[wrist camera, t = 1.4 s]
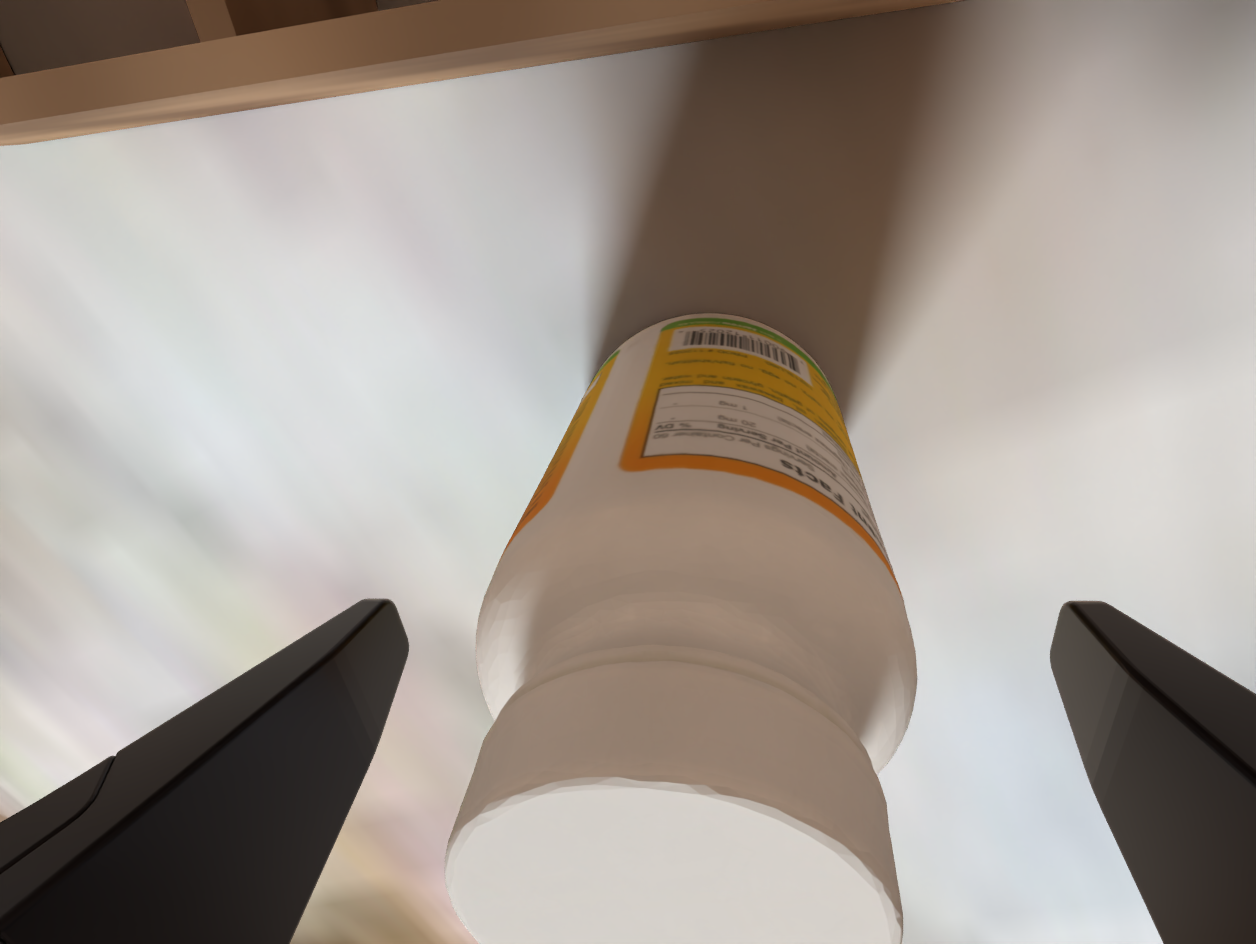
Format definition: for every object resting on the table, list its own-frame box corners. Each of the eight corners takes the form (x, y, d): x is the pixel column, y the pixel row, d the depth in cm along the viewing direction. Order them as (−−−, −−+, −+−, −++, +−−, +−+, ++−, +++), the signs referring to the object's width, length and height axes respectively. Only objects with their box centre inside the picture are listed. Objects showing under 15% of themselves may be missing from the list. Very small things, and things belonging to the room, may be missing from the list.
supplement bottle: (656, 566, 16) (566, 1082, 8) (536, 378, 14) (235, 798, 6) (878, 487, 14) (1080, 1058, 6) (776, 255, 12) (857, 616, 4)
